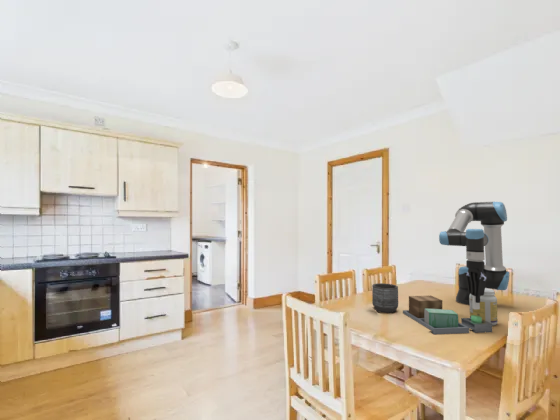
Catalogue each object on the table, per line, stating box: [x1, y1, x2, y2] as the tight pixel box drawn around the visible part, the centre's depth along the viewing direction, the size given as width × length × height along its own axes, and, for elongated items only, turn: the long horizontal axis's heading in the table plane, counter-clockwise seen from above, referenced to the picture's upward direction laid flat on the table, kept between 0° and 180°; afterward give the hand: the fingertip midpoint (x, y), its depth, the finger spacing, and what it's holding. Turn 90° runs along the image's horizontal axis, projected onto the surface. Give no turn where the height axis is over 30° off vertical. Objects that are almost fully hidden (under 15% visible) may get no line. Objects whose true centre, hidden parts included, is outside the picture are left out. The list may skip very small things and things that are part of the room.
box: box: [424, 308, 460, 328], centre depth 149 cm, size 7×14×8 cm, turn 81°
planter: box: [371, 282, 399, 314], centre depth 176 cm, size 14×14×15 cm
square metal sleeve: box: [460, 317, 493, 334], centre depth 148 cm, size 9×9×4 cm
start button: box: [471, 315, 482, 323], centre depth 148 cm, size 4×4×4 cm
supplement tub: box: [468, 288, 499, 327], centre depth 158 cm, size 12×12×17 cm
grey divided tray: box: [402, 309, 470, 335], centre depth 156 cm, size 18×29×2 cm, turn 6°
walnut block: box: [408, 295, 443, 318], centre depth 163 cm, size 13×10×10 cm
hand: (476, 308), depth 148 cm, fingers closed
